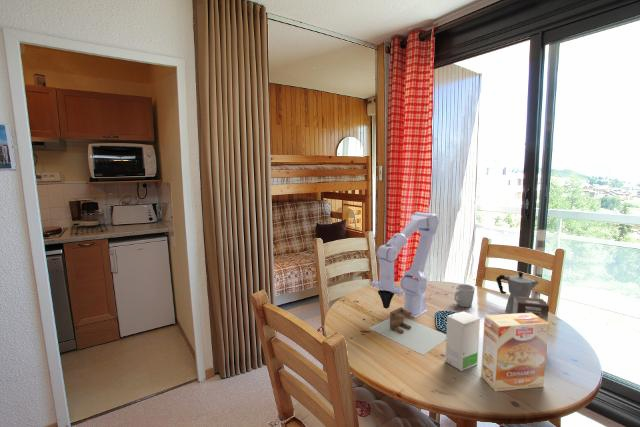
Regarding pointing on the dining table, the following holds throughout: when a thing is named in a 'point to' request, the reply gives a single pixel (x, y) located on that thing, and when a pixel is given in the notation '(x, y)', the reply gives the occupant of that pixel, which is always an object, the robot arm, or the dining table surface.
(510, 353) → the coffeecake box
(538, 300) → the coffee box
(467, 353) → the skincare box
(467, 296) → the cup
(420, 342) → the mat
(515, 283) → the coffeepot
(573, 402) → the dining table surface
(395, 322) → the stool
